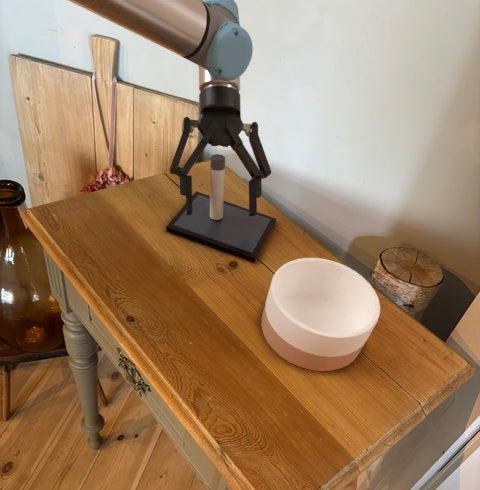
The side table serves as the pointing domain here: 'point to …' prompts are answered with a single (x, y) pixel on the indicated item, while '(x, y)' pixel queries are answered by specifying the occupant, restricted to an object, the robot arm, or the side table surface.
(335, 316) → the bowl
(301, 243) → the side table surface
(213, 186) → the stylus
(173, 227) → the tablet
